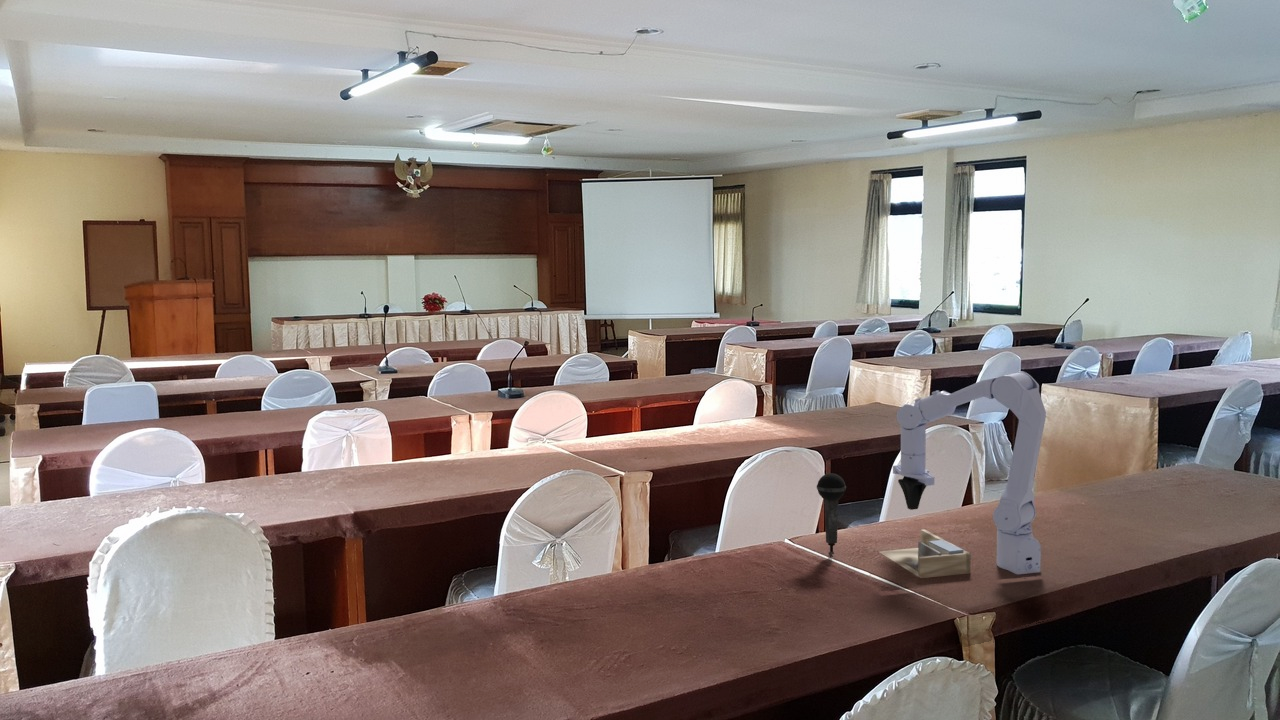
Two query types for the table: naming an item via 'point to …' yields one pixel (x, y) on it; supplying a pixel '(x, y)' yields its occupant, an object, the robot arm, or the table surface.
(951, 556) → the wooden open box
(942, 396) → the robot arm
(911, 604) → the table surface
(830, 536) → the microphone
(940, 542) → the grey-blue block
